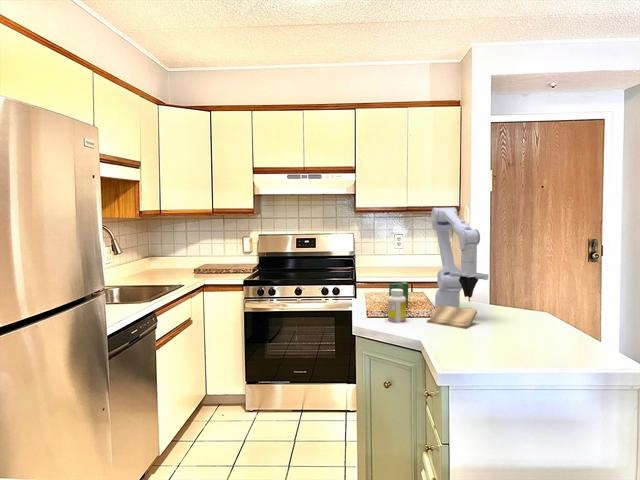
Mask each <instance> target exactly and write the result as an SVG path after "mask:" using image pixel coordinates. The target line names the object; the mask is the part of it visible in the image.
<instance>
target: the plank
mask: <svg viewBox="0 0 640 480" xmlns="http://www.w3.org/2000/svg"><path fill="white" fill-rule="evenodd" d="M477 314H478V310H477V309H476V310H475V309H472V308H471V309H470V308H462V307H460V308H457V307H449V306H442V305H438V307H437V308H435V311H434V312H433V314H432V315H431V316H430V318H429V319H434V320H441V321H447V322H453V323H459V324H465V325H469V328H470V327H471V325H472V324H473V321H474V320H475V318H476V315H477Z"/></svg>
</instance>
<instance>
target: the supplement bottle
mask: <svg viewBox="0 0 640 480" xmlns="http://www.w3.org/2000/svg"><path fill="white" fill-rule="evenodd" d="M387 302H388V303H387V312H388V314H387V316H388V317H387V318H388V322H390V323H395V324H396V323H399V324H401V323H405V322H406V321H407V312H406V298H405V297H404V296H403V290H402V289H391V296H390V297H389V296H388V298H387Z"/></svg>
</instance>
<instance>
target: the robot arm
mask: <svg viewBox="0 0 640 480" xmlns="http://www.w3.org/2000/svg"><path fill="white" fill-rule="evenodd" d="M430 220H431V225H432V229H434V230H435V231H436V237H437V243H438V247H439V253H440V258H441V259H440V260H441V266H442V267H441V269H439V270H438V272H437V274H436V276H437V281H436V282H437V287H438V288H439V289H437V290H436V291H435V297H434V298H435V299H434V300H435V302H434V308H435V309H436V308H437V307H438V305H442V306H449V307H457V308H461V307H460V305H461V304H460V303H461V302H460V297H461V294H460V293H461V291H462V292H463V295H464V298H472V297H473V293H474V290H475V288H476V285H477V283H478V282H479V280H484V281H488V280H489V274H487V273H482V272H481V273H480V272H478V271H477V263H478V257H477V256H478V245H479V244H480V242H481V233H480V231H479V229H477V228H476V229H475V228H472V227H470V225H469V224H468V223H467V222H466V220H464V219H462V220H461V219H460V218H459V216H458V209H457V208H456V207H454V206H453V207H433V208H432V209H431V214H430ZM450 230H453V233H455V235H456V236H457V237H458V243H459V249H460V253H461V254H460V268H459V267H458V266H456V264H455V260H454V259H455V258H454V254H453V247H452V243H451V238H450V232H449V231H450Z"/></svg>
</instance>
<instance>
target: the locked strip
mask: <svg viewBox="0 0 640 480" xmlns="http://www.w3.org/2000/svg"><path fill="white" fill-rule="evenodd" d="M426 323H427V324H428V323H429V324H434V325H439V326H440V325H441V326H447V327H451V328H452V327H453V328H458V329H464V330H467V329H469V328H470V327H469V325H465V324H459V323H453V322H447V321H441V320H434V319H430V318H428V319H427V320H426Z"/></svg>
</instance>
